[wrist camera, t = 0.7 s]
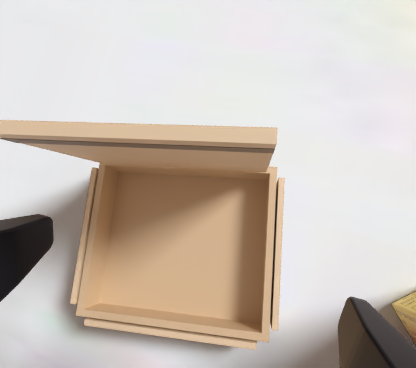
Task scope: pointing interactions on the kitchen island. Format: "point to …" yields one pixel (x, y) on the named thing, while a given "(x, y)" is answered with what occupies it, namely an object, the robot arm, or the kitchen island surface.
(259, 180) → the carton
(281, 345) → the kitchen island surface
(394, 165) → the kitchen island surface
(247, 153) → the flap
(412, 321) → the candy box
